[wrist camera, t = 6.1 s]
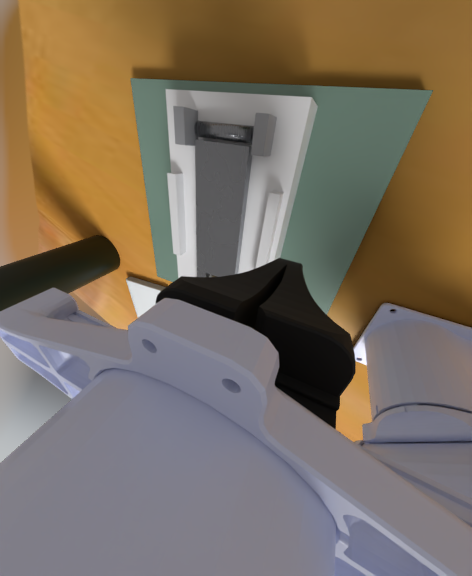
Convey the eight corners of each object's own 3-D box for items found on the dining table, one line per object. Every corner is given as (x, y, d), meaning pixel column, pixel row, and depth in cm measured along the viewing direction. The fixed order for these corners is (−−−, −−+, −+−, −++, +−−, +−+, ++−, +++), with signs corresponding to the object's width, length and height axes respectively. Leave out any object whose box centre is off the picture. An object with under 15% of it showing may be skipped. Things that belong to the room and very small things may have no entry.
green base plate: (427, 94, 12) (470, 62, 8) (318, 329, 24) (311, 367, 20) (139, 81, 19) (77, 59, 14) (162, 273, 30) (131, 293, 26)
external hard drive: (173, 287, 31) (182, 344, 38) (132, 274, 34) (147, 330, 41) (166, 292, 30) (177, 350, 37) (124, 279, 33) (141, 335, 40)
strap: (201, 121, 14) (194, 119, 14) (256, 126, 13) (251, 125, 13) (201, 304, 24) (197, 308, 23) (232, 316, 23) (229, 321, 22)
